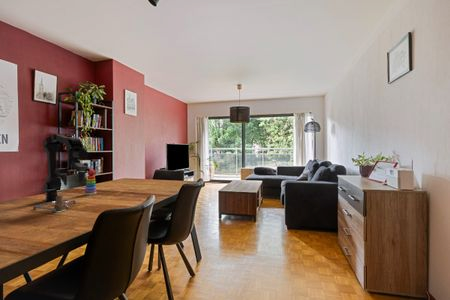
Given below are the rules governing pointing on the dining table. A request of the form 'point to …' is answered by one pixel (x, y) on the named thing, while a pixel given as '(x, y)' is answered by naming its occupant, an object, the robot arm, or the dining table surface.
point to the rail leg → (55, 202)
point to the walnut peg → (59, 203)
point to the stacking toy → (90, 183)
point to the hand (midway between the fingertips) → (73, 184)
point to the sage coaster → (60, 211)
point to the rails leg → (51, 208)
